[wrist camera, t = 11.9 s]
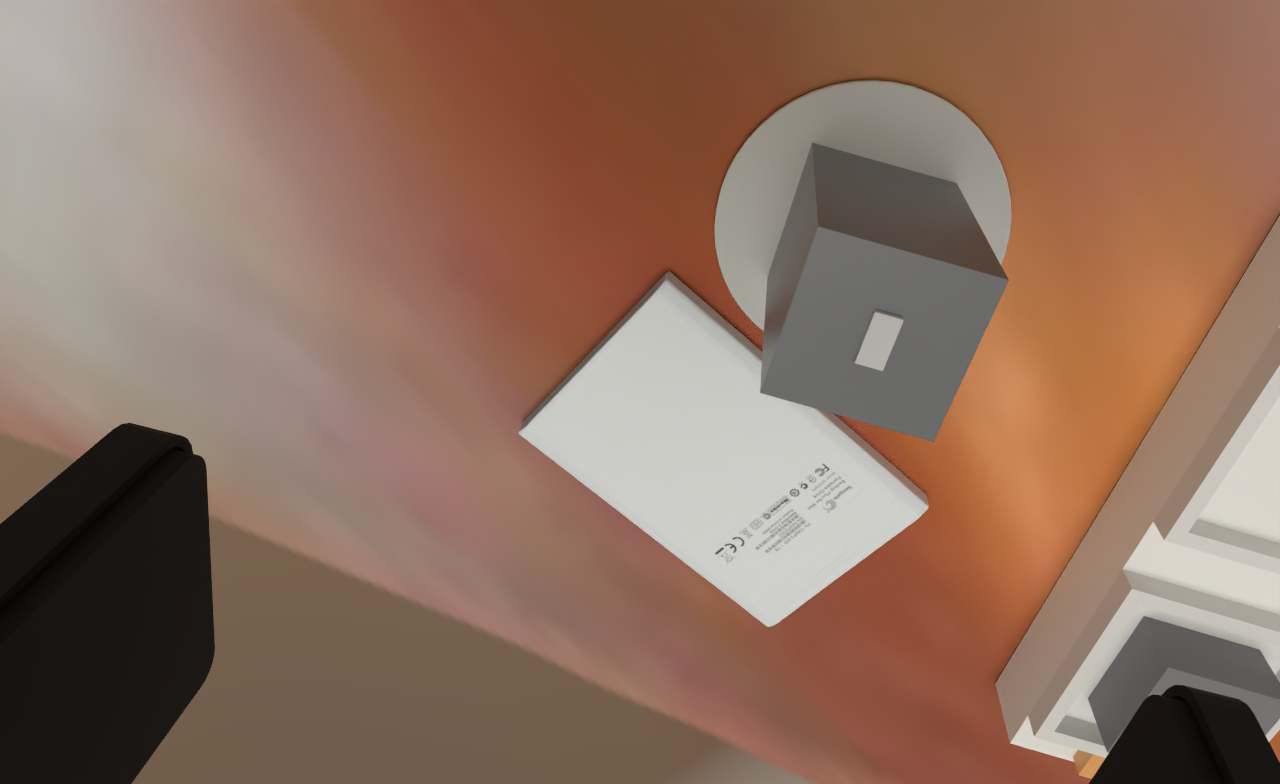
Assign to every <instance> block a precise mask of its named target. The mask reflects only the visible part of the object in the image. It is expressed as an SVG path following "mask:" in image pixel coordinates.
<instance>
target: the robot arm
mask: <svg viewBox="0 0 1280 784" xmlns="http://www.w3.org/2000/svg"><path fill="white" fill-rule="evenodd" d="M214 649H215V644H214V623H213V601H212V581H211V558H210V537H209V515H208V494H207V472H206V464H205V461H204V459H203V458H202V457H201V456H198V455H195V454H193V451H192V446H191V444H190V442H189V440H188V439H187V438H185V437H183V436H180V435H176V434H172V433H168V432H164V431H160V430H156V429H152V428H148V427H144V426H140V425H136V424H132V423H126V424H121V425H120V426H118V427H116V428H115V429H113V430H112V431H111V432H110V433H108V434H107V435H106V436H105V437H104V438H103V439H101V440H100V441H99V442H98V443H97V444H95V445H94V446H93V447H92V448H91V449H89V450H88V451H87V452H86V453H85V454H83V455H82V456H81V457H80V458H79V459H77V460H76V461H75V462H74V463H73V464H71V465H70V466H69V467H68V468H67V469H66V470H64V471H63V472H62V473H61V474H60V475H58V476H57V477H56V478H55V479H54V480H52V481H51V482H50V483H49V484H48V485H47V486H45V487H44V488H43V489H42V490H40V492H38V493H37V494H36V495H35V496H33V497H32V498H31V499H30V500H29V501H28V502H26V503H25V504H24V505H23V506H21V507H20V508H19V509H18V510H17V511H15V512H14V513H13V514H12V515H11V516H10V517H8V518H7V519H6V520H5V521H4V522H2V523H1V524H0V784H131V783H132V782H133V781H134V779H135V778H136V776H137V775H138V774H139V772H140V771H141V769H142V768H143V767H144V765H145V764H146V762H147V761H148V760H149V758H150V757H151V756H152V754H153V753H154V751H155V750H156V749H157V747H158V746H159V744H160V743H161V741H162V740H163V739H164V738H165V736H166V735H167V733H168V732H169V731H170V729H171V728H172V726H173V725H174V724H175V722H176V721H177V719H178V718H179V717H180V715H181V714H182V713H183V711H184V709H185V708H186V707H187V706H188V704H189V703H190V702H191V700H192V699H193V697H194V696H195V695H196V693H197V692H198V690H199V689H200V687H201V686H202V684H203V683H204V681H205V680H206V677H207V675H208V673H209V671H210V668H211V665H212V662H213V657H214ZM1089 784H1280V763H1279V761H1278V759H1277V757H1276V755H1275V753H1274V751H1273V749H1272V747H1271V745H1270V743H1269V741H1268V739H1267V738H1266V736H1265V734H1264V732H1263V730H1262V728H1261V726H1260V724H1259V722H1258V720H1257V718H1256V716H1255V714H1254V713H1253V711H1252V710H1251V709H1250V707H1249V706H1248V705H1247V704H1246V703H1244V702H1243V701H1241V700H1240V699H1236V698H1232V697H1228V696H1224V695H1220V694H1216V693H1212V692H1208V691H1204V690H1200V689H1196V688H1192V687H1188V686H1184V685H1174V686H1172V687H1170V688H1168V689H1167V690H1166V691H1165V692H1164V693H1163V694H1162V695H1151V696H1149V697H1147V698H1146V699H1145V700H1144V701H1143V702H1142V704H1141V705H1140V707H1139V708H1138V710H1137V711H1136V713H1135V714H1134V716H1133V717H1132V719H1131V720H1130V722H1129V723H1128V725H1127V726H1126V728H1125V729H1124V731H1123V733H1122V734H1121V736H1120V737H1119V739H1118V740H1117V742H1116V743H1115V745H1114V746H1113V748H1112V749H1111V751H1110V752H1109V754H1108V755H1107V757H1106V758H1105V760H1104V761H1103V763H1102V764H1101V766H1100V767H1099V769H1098V770H1097V772H1096V774H1095V775H1094V777H1093V778H1092V780H1091V781H1090V783H1089Z"/></svg>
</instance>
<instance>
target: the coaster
mask: <svg viewBox="0 0 1280 784" xmlns="http://www.w3.org/2000/svg"><path fill="white" fill-rule="evenodd" d="M812 143H816V144H819V145H823V146H826V147H830V148H833V149H837V150H840V151H844V152H848V153H851V154H855V155H858V156H862V157H865V158H869V159H873V160H876V161H880V162H883V163H887V164H890V165H894V166H898V167H901V168H905V169H908V170H912V171H915V172H919V173H922V174H926V175H930V176H933V177H937V178H940V179H944V180H947V181H951V182H955V183H957V184H958V186H959V188H960V190H961V192H962V194H963V196H964V198H965V199H966V201H967V203H968V205H969V207H970V209H971V211H972V212H973V214H974V216H975V218H976V220H977V222H978V224H979V225H980V227H981V229H982V231H983V233H984V235H985V237H986V239H987V240H988V242H989V244H990V246H991V248H992V250H993V252H994V253H995V255H996V257H997V259H998V261H999V263H1000V265H1001V264H1002V262H1003V259H1004V257H1005V253H1006V249H1007V245H1008V241H1009V237H1010V228H1011V198H1010V193H1009V188H1008V182H1007V179H1006V176H1005V173H1004V170H1003V167H1002V164H1001V162H1000V160H999V158H998V156H997V154H996V152H995V151H994V149H993V147H992V145H991V144H990V142H989V141H988V140H987V138H986V137H985V136H984V134H983V133H982V132H981V130H980V129H979V128H978V127H977V126H976V125H975V124H974V123H973V122H972V121H971V120H970V119H969V118H968V117H967V116H966V115H965V114H964V113H963V112H962V111H960V110H959V109H958V108H956V107H955V106H954V105H952V104H951V103H950V102H948V101H946V100H944V99H942V98H941V97H939V96H937V95H935V94H933V93H931V92H928V91H926V90H923V89H920V88H917V87H915V86H911V85H907V84H902V83H898V82H893V81H880V80H862V81H850V82H844V83H839V84H833V85H830V86H827V87H824V88H820V89H817V90H814V91H812V92H809V93H807V94H805V95H803V96H801V97H799V98H797V99H795V100H793V101H791V102H790V103H788V104H787V105H785V106H783V107H782V108H780V109H779V110H777V111H776V112H775V113H773V114H772V115H771V116H770V117H769V118H767V119H766V120H765V121H764V122H763V123H761V124H760V126H759V127H758V128H757V129H756V130H755V131H754V132H753V133H752V134H751V135H750V136H749V137H748V139H747V140H746V141H745V143H744V144H743V146H742V147H741V148H740V150H739V151H738V153H737V154H736V156H735V158H734V160H733V161H732V163H731V165H730V167H729V169H728V171H727V174H726V176H725V179H724V182H723V184H722V187H721V191H720V195H719V199H718V204H717V208H716V217H715V246H716V252H717V257H718V262H719V265H720V269H721V272H722V275H723V278H724V280H725V282H726V284H727V286H728V288H729V290H730V292H731V294H732V296H733V297H734V299H735V300H736V302H737V303H738V305H739V306H740V308H741V309H742V310H743V311H744V313H745V314H746V315H747V316H748V317H749V318H750V319H751V321H752V322H753V323H755V324H756V325H757V326H758V327H759V328H760V329H761V330H763V331H764V322H765V306H766V291H767V277H768V274H769V271H770V268H771V265H772V262H773V259H774V256H775V253H776V250H777V247H778V244H779V241H780V238H781V235H782V232H783V229H784V226H785V223H786V220H787V217H788V214H789V211H790V208H791V205H792V202H793V199H794V196H795V193H796V190H797V186H798V183H799V180H800V177H801V174H802V171H803V168H804V165H805V162H806V159H807V156H808V153H809V150H810V147H811V144H812Z"/></svg>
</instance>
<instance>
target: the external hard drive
mask: <svg viewBox="0 0 1280 784" xmlns="http://www.w3.org/2000/svg"><path fill="white" fill-rule="evenodd" d="M762 354H763V352H762V351H761V350H760V349H759V348H757V347H756V346H755V345H754V344H753V343H752V342H751V341H750V340H748V339H747V338H746V337H745V336H744V335H743V334H741V333H740V332H739V331H738V330H737V329H736V328H734V327H733V326H732V325H731V324H730V323H729V322H727V321H726V320H725V319H724V318H723V317H722V316H720V315H719V314H718V313H717V312H716V311H715V310H714V309H713V308H711V307H710V306H709V305H708V304H707V303H706V302H704V301H703V300H702V299H701V298H700V297H699V296H698V295H696V294H695V293H694V292H693V291H692V290H691V289H690V288H688V287H687V286H686V285H685V284H684V283H683V282H681V281H680V280H679V279H678V278H677V277H676V276H675V275H673V274H672V273H671V272H670V271H668V272H667V273H666V274H665V275H664V276H663V277H662V278H661V279H660V280H659V281H658V282H657V283H656V284H655V285H654V286H653V287H652V288H651V289H650V290H649V291H648V292H647V293H646V294H645V296H644V297H643V298H642V299H641V300H640V301H639V302H638V303H637V304H636V305H635V306H634V307H633V308H632V309H631V310H630V311H629V312H628V313H627V314H626V315H625V316H624V317H623V319H622V320H621V321H620V322H619V323H618V324H617V325H616V326H615V327H614V328H613V329H612V330H611V331H610V332H609V333H608V334H607V335H606V336H605V337H604V338H603V339H602V340H601V341H600V343H599V344H598V345H597V346H596V347H595V348H594V349H593V350H592V351H591V352H590V353H589V354H588V355H587V356H586V357H585V358H584V359H583V360H582V361H581V362H580V363H579V364H578V365H577V367H576V368H575V369H574V370H573V371H572V372H571V373H570V374H569V375H568V376H567V377H566V378H565V379H564V380H563V381H562V382H561V383H560V384H559V385H558V386H557V387H556V388H555V389H554V390H553V391H552V392H551V394H550V395H549V396H548V397H547V398H546V399H545V400H544V401H543V402H542V403H541V404H540V405H539V406H538V407H537V408H536V409H535V410H534V411H533V412H532V413H531V414H530V415H529V416H528V417H527V418H526V419H525V420H524V422H523V424H522V426H521V428H520V431H519V434H520V435H521V436H522V437H523V438H525V439H526V440H528V441H529V442H530V443H531V444H532V445H534V446H535V447H537V448H538V449H539V450H540V451H541V452H543V453H544V454H545V455H547V456H548V457H549V458H551V459H552V460H553V461H555V462H556V463H557V464H558V465H560V466H561V467H562V468H564V469H565V470H566V471H567V472H569V473H570V474H571V475H573V476H574V477H575V478H576V479H578V480H579V481H580V482H582V483H583V484H584V485H585V486H587V487H588V488H589V489H591V490H592V491H593V492H594V493H596V494H597V495H598V496H600V497H601V498H602V499H603V500H605V501H606V502H607V503H609V504H610V505H611V506H612V507H614V508H615V509H616V510H618V511H619V512H620V513H622V514H623V515H624V516H625V517H627V518H628V519H629V520H631V521H632V522H633V523H634V524H636V525H637V526H638V527H640V528H641V529H642V530H643V531H645V532H646V533H647V534H648V535H650V536H651V537H652V538H654V539H655V540H656V541H658V542H659V543H660V544H661V545H663V546H664V547H665V548H667V549H668V550H669V551H670V552H672V553H673V554H674V555H676V556H677V557H678V558H679V559H681V560H682V561H683V562H685V563H686V564H687V565H688V566H690V567H691V568H692V569H694V570H695V571H696V572H697V573H699V574H700V575H701V576H703V577H704V578H705V579H707V580H708V581H709V582H711V583H712V584H713V585H714V586H716V587H717V588H718V589H720V590H721V591H722V592H723V593H725V594H726V595H727V596H729V597H730V598H731V599H733V600H734V601H735V602H736V603H738V604H739V605H740V606H742V607H743V608H744V609H746V610H747V611H748V612H749V613H750V614H752V615H753V616H754V617H755V618H757V619H758V620H760V621H761V622H762V623H763V624H764V625H766V626H767V627H771V626H773V625H775V624H777V623H779V622H780V621H781V620H782V619H784V618H785V617H787V616H788V615H789V614H791V613H792V612H793V611H795V610H796V609H797V608H799V607H800V606H801V605H802V604H804V603H805V602H806V601H807V600H809V599H810V598H812V597H813V596H814V595H816V594H817V593H818V592H820V591H821V590H822V589H824V588H825V587H827V586H828V585H829V584H830V583H832V582H833V581H834V580H836V579H837V578H839V577H840V576H841V575H843V574H844V573H845V572H847V571H848V570H849V569H851V568H852V567H854V566H855V565H856V564H858V563H859V562H860V561H862V560H863V559H864V558H866V557H867V556H868V555H870V554H871V553H872V552H874V551H875V550H877V549H878V548H879V547H881V546H882V545H883V544H885V543H886V542H887V541H888V540H890V539H891V538H893V537H894V536H895V535H897V534H898V533H900V532H901V531H902V530H904V529H905V528H906V527H908V526H909V525H910V524H912V523H913V522H914V521H916V520H917V519H918V518H919V517H920V516H921V515H922V514H923V513H924V512H925V511H926V510H927V509H928V507H929V505H928V500H927V496H926V494H925V493H924V492H923V491H922V490H920V489H919V488H918V487H917V486H916V485H915V484H914V483H913V482H911V481H910V480H909V479H908V478H907V477H905V476H904V475H903V474H902V473H901V472H900V471H899V470H898V469H897V468H896V467H894V466H893V465H892V464H891V463H890V462H889V461H887V460H886V459H885V458H884V457H883V456H882V455H881V454H879V453H878V452H877V451H876V450H875V449H874V448H873V447H871V446H870V445H869V444H868V443H867V442H866V441H865V440H863V439H862V438H861V437H860V436H859V435H858V434H857V433H855V432H854V431H853V430H852V429H851V428H850V427H848V426H847V425H846V424H845V423H844V422H843V421H842V420H840V419H839V418H838V417H837V416H836V415H835V414H833V413H829V412H826V411H822V410H819V409H815V408H812V407H808V406H805V405H801V404H798V403H794V402H790V401H787V400H783V399H780V398H776V397H773V396H769V395H766V394H762V393H760V385H761V370H762Z"/></svg>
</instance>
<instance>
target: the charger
mask: <svg viewBox="0 0 1280 784" xmlns="http://www.w3.org/2000/svg"><path fill="white" fill-rule="evenodd" d="M1008 281H1009V279H1008V278H1007V276H1006V274H1005V272H1004V270H1003V268H1002V266H1001V265H1000V263H999V261H998V259H997V257H996V255H995V253H994V252H993V250H992V248H991V246H990V244H989V242H988V240H987V239H986V237H985V235H984V233H983V231H982V229H981V227H980V225H979V224H978V222H977V220H976V218H975V216H974V214H973V212H972V211H971V209H970V207H969V205H968V203H967V201H966V199H965V198H964V196H963V194H962V192H961V190H960V188H959V186H958V184H957V183H955V182H951V181H947V180H944V179H940V178H937V177H933V176H930V175H926V174H922V173H919V172H915V171H912V170H908V169H905V168H901V167H898V166H894V165H890V164H887V163H883V162H880V161H876V160H873V159H869V158H865V157H862V156H858V155H855V154H851V153H848V152H844V151H840V150H837V149H833V148H830V147H826V146H823V145H819V144H816V143H812V144H811V147H810V150H809V153H808V156H807V159H806V162H805V165H804V168H803V171H802V174H801V177H800V180H799V183H798V186H797V190H796V193H795V196H794V199H793V202H792V205H791V208H790V211H789V214H788V217H787V220H786V223H785V226H784V229H783V232H782V235H781V238H780V241H779V244H778V247H777V250H776V253H775V256H774V259H773V262H772V265H771V268H770V271H769V274H768V277H767V291H766V306H765V322H764V338H763V354H762V370H761V385H760V393H762V394H766V395H769V396H773V397H776V398H780V399H783V400H787V401H790V402H794V403H798V404H801V405H805V406H808V407H812V408H815V409H819V410H822V411H826V412H829V413H833V414H836V415H840V416H844V417H847V418H851V419H854V420H858V421H861V422H865V423H868V424H872V425H875V426H879V427H882V428H886V429H890V430H893V431H897V432H900V433H904V434H907V435H911V436H914V437H918V438H921V439H925V440H928V441H932V442H934V440H935V437H936V435H937V433H938V431H939V429H940V427H941V425H942V422H943V420H944V418H945V416H946V414H947V412H948V410H949V407H950V405H951V403H952V401H953V399H954V397H955V394H956V392H957V390H958V388H959V386H960V384H961V382H962V379H963V377H964V375H965V373H966V371H967V369H968V367H969V364H970V362H971V360H972V358H973V356H974V354H975V352H976V349H977V347H978V345H979V343H980V341H981V339H982V337H983V334H984V332H985V330H986V328H987V326H988V324H989V322H990V319H991V317H992V315H993V313H994V311H995V309H996V307H997V304H998V302H999V300H1000V298H1001V296H1002V294H1003V292H1004V289H1005V287H1006V285H1007V283H1008Z"/></svg>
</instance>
